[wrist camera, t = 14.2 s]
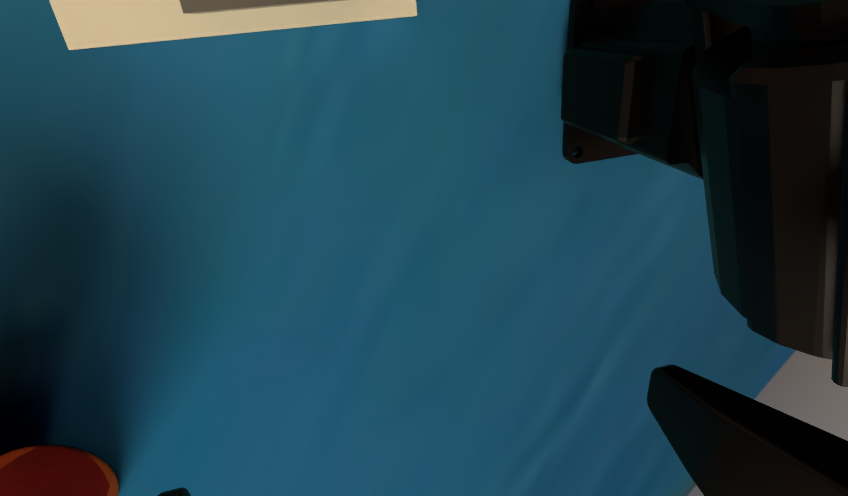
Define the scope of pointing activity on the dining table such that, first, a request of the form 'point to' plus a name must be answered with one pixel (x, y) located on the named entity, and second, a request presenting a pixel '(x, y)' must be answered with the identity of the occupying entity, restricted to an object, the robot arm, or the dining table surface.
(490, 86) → the dining table surface
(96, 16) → the breaker panel
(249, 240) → the dining table surface
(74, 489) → the paper cup
